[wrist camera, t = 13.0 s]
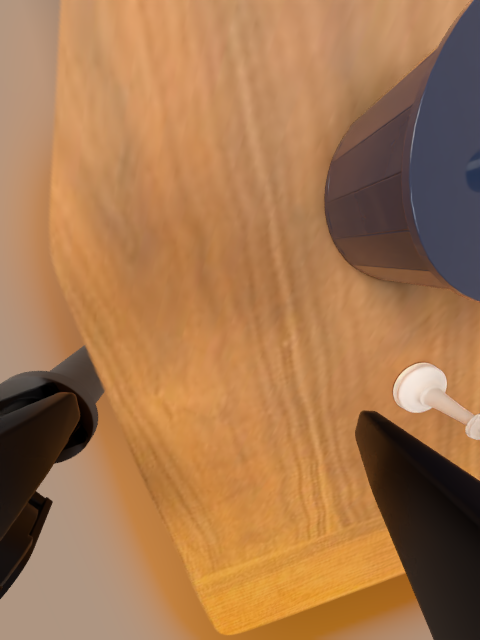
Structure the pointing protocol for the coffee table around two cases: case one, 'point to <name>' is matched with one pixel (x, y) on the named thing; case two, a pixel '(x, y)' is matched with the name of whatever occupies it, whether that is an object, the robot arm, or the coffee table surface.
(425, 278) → the pot
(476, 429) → the chess piece
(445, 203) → the pot lid
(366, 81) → the coffee table surface
